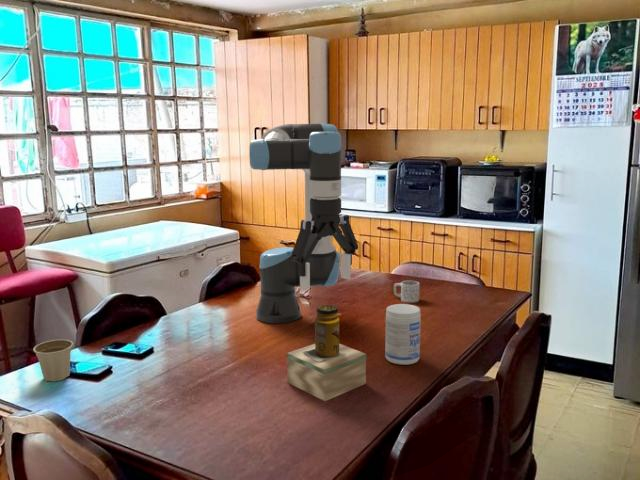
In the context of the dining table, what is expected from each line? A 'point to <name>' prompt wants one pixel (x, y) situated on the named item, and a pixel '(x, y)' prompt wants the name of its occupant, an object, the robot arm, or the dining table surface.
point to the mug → (408, 291)
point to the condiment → (326, 334)
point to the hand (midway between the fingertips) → (325, 283)
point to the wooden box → (326, 372)
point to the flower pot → (54, 359)
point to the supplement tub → (402, 334)
